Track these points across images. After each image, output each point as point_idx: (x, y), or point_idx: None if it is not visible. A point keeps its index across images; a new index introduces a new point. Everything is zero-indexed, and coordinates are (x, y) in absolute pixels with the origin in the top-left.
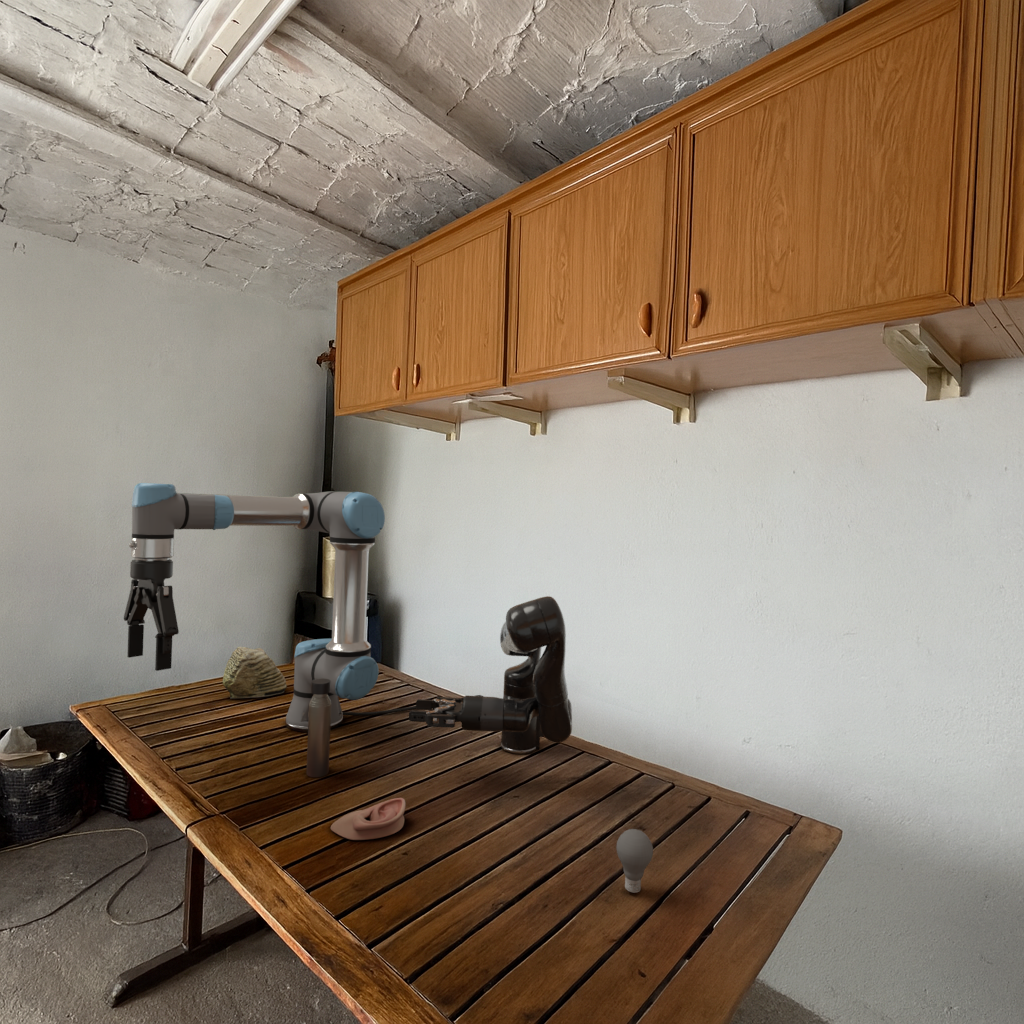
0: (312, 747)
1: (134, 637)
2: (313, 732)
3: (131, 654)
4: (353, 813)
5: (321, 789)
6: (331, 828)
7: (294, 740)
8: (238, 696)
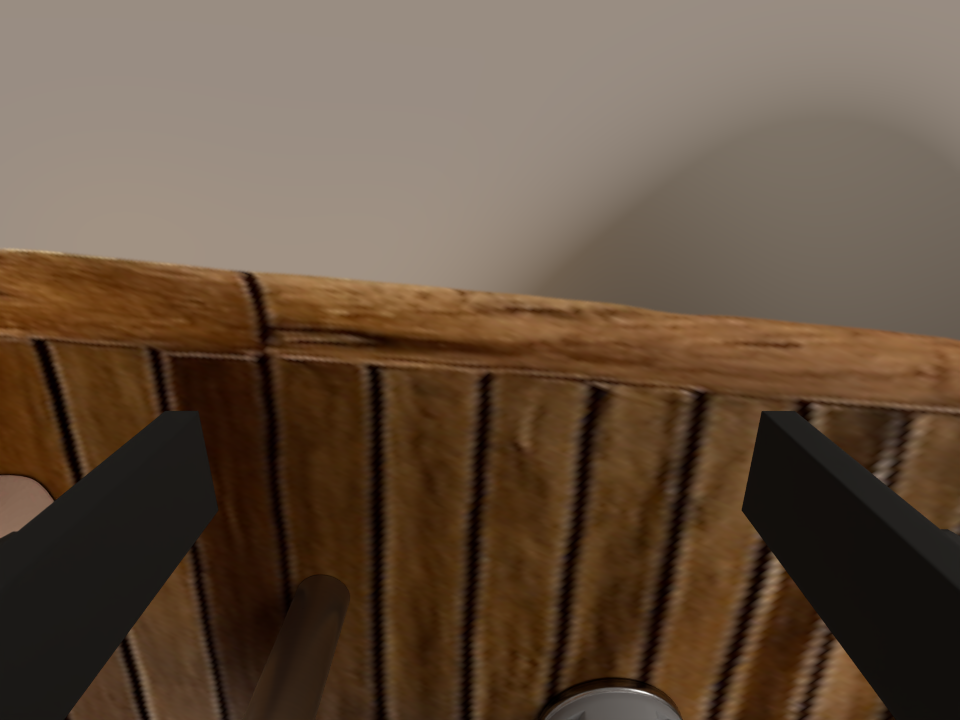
0: (286, 637)
1: (874, 574)
2: (269, 677)
3: (771, 442)
4: None
5: (234, 559)
6: (23, 478)
7: (541, 651)
8: None
